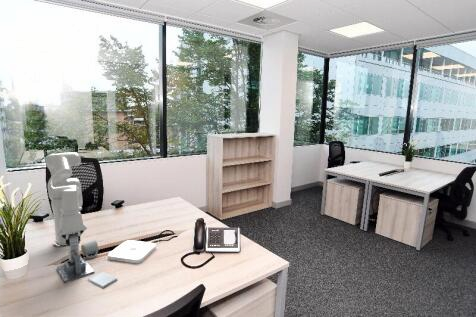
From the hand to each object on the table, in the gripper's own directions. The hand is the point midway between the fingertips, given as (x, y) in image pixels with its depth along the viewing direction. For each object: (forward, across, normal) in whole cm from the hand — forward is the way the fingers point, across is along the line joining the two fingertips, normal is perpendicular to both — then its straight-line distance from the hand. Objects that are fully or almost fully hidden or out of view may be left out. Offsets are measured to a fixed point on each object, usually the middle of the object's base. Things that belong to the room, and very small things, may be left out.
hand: (73, 243), depth 149 cm
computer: (+16, -32, +1) cm, 36 cm away
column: (+9, 0, 0) cm, 9 cm away
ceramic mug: (+16, -12, -13) cm, 24 cm away
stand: (+16, 0, 0) cm, 16 cm away
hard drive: (+16, -8, +19) cm, 27 cm away
